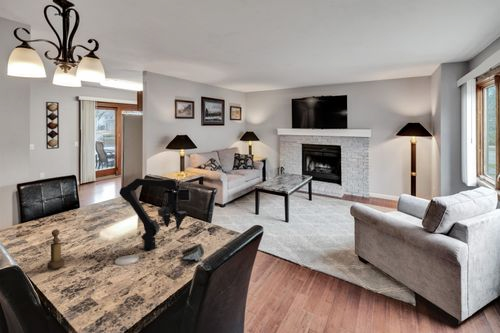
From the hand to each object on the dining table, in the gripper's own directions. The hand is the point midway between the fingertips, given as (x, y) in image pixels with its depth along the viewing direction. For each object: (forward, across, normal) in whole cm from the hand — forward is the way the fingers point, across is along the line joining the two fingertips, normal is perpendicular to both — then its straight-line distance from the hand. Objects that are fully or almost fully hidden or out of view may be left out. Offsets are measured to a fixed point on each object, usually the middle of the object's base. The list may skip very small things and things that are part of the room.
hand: (172, 228), depth 143 cm
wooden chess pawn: (+13, -30, -46) cm, 56 cm away
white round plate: (+13, -7, -23) cm, 27 cm away
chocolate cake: (+15, +16, -4) cm, 22 cm away
